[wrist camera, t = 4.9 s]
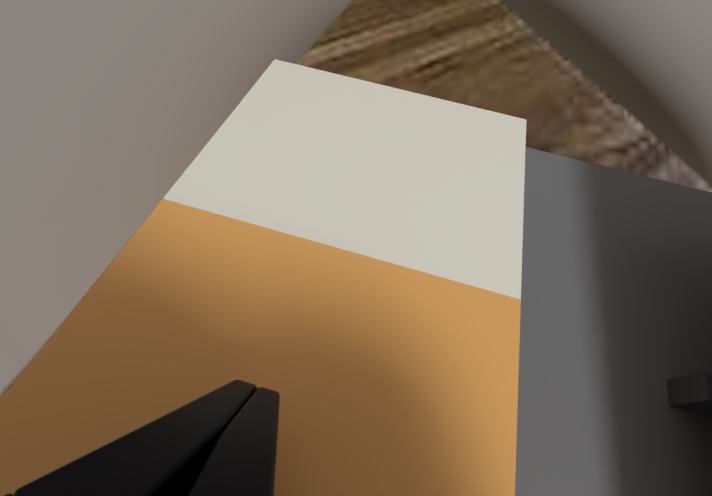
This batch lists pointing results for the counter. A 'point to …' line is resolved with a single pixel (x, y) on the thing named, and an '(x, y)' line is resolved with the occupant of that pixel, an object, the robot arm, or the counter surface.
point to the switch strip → (613, 333)
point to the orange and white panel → (311, 297)
